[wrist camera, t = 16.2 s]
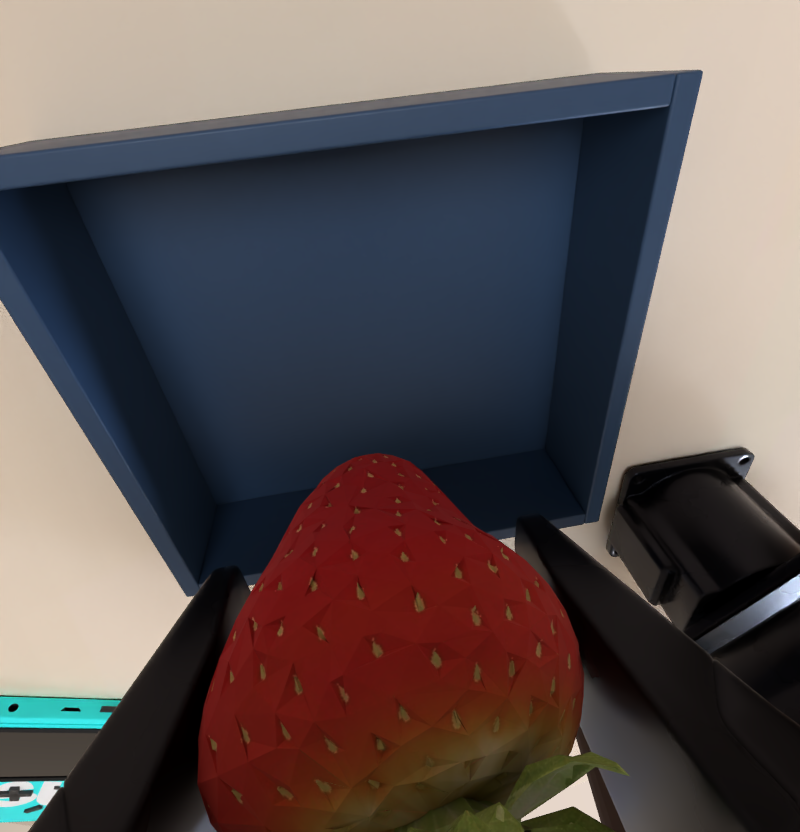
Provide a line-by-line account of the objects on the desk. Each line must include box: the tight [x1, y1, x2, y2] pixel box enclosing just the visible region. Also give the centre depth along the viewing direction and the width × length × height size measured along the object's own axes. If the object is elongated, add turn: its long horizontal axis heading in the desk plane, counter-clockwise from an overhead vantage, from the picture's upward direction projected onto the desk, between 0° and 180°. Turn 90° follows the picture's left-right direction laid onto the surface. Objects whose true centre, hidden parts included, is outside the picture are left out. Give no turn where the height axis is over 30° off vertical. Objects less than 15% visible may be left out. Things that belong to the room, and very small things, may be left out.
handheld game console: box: [0, 696, 121, 822], centre depth 31 cm, size 10×16×1 cm, turn 157°
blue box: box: [0, 70, 703, 597], centre depth 15 cm, size 16×14×4 cm
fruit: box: [197, 453, 629, 832], centre depth 7 cm, size 5×5×8 cm
